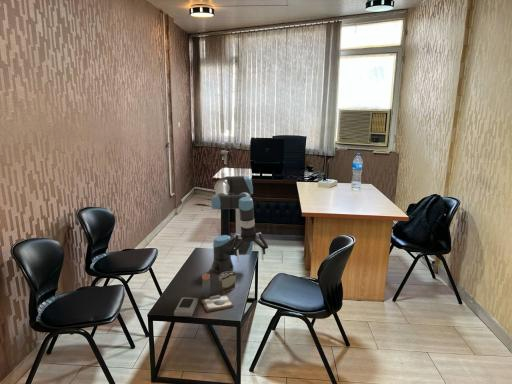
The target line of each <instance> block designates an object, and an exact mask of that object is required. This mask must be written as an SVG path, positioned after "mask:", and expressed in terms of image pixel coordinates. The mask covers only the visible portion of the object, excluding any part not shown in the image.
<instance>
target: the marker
mask: <svg viewBox="0 0 512 384" xmlns="http://www.w3.org/2000/svg"><path fill="white" fill-rule="evenodd" d="M201 275H202V276H201V279H202V297H203V298H209V297H211V274H210V273H203V274H201Z"/></svg>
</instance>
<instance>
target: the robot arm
mask: <svg viewBox="0 0 512 384" xmlns="http://www.w3.org/2000/svg"><path fill="white" fill-rule="evenodd" d="M252 182H253V180H252V178H251V177H250V176H247V175H246V176H245V175H238V176H237V175H233V176H229V175H228V176H224V177H221V178H220V179H218V180H217V181H216V182H215V184H214V186H213V187H214V188H213V189H214V192H215V195H212V196H211V209H213V210H235V234H234V235H233V237H231V236H230V235H227V234H223V235H219V236H216V237H215V238H214V239H213V242H212V243H213V244H212V247H213V260H212V262H211V263H212V264H211V268H210V269H211V272H212V273H214V274H217V275H220V274H221V273H222V272H225V271H234V264H233V261H232V256H235V257H236V258H237V260H236V261H237V263H239V262H240V256H247V255H251V254H252V252H253V249H254V248H253V247H254V243H255V244H256V245H257V246H258V247H259V248H261V260H262V261H264V255H266V249H268V248H269V244H268V243H267V241H266V240H265V238H264V237H263V235H262V232H261V231H259V232H256V226H255V224H256V223H255V213H254V212H255V209H254V201H253V198H252V195H253V194H254V186H253V183H252ZM257 237H258V238H259V239H258V238H257Z"/></svg>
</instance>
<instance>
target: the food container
mask: <svg viewBox="0 0 512 384" xmlns="http://www.w3.org/2000/svg"><path fill="white" fill-rule="evenodd" d="M218 275H219V276H218V281H219V283H220V293H222V294H224V293H227V292H228V291H231V290H233V289H235V287H236V281H237V280H236V277H237V275H238V274H237V272H236V271H234V270H233V271H225V272H222V273H221V274H218Z"/></svg>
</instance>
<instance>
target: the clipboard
mask: <svg viewBox="0 0 512 384" xmlns="http://www.w3.org/2000/svg"><path fill="white" fill-rule="evenodd" d="M201 303H202V305H203V308H204V309H205V311H206V313H211V312H217V311H221V310H225V309H229V308H234V304H233V302H232V301H231V299H230V297H229V296H228V295H227V294H226V295H220V294H217V295H212V296H211V295H210V297H208V298H205V299H201Z"/></svg>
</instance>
